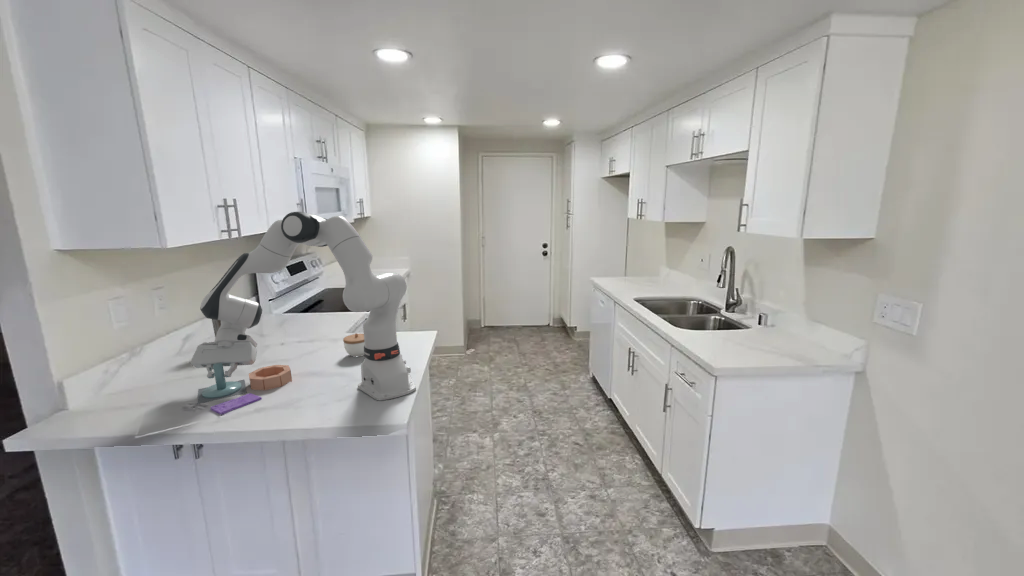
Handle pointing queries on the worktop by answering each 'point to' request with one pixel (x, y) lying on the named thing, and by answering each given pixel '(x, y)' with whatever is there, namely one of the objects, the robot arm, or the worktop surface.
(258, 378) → the bowl
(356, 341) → the lidded jar
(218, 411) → the sponges
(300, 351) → the worktop surface
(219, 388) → the lid
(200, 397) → the mat
